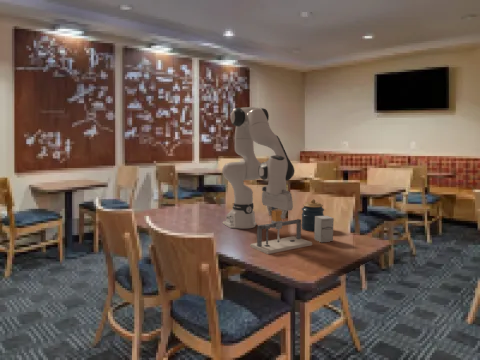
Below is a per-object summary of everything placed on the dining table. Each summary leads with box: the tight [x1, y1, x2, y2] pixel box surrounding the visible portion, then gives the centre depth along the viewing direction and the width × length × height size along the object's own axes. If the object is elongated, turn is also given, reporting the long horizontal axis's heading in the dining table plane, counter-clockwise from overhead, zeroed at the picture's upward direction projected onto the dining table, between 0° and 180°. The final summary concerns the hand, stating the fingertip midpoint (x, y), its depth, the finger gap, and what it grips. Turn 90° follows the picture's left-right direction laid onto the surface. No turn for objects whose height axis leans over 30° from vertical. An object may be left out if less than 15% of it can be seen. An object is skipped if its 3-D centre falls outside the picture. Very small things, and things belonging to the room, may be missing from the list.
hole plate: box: [249, 218, 313, 255], centre depth 197 cm, size 14×28×12 cm, turn 123°
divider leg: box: [270, 209, 283, 242], centre depth 196 cm, size 4×4×16 cm
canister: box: [301, 198, 325, 232], centre depth 233 cm, size 13×13×18 cm
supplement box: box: [313, 215, 335, 243], centre depth 207 cm, size 7×7×13 cm
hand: (276, 216), depth 196 cm, fingers open, 8 cm apart
